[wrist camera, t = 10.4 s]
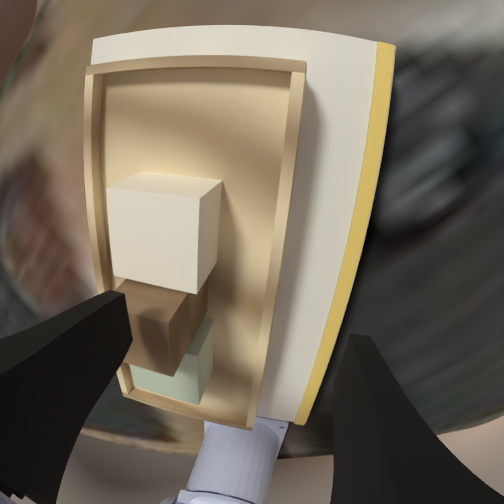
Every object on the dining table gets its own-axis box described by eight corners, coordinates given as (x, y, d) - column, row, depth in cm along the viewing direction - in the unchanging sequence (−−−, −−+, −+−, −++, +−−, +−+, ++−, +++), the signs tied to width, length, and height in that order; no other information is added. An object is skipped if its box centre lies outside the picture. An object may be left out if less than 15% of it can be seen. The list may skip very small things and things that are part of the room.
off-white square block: (217, 261, 15) (197, 294, 13) (143, 247, 16) (113, 275, 13) (222, 180, 14) (199, 198, 11) (141, 171, 14) (106, 187, 12)
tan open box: (258, 402, 22) (240, 480, 16) (138, 372, 24) (99, 436, 17) (307, 70, 13) (303, 35, 7) (117, 68, 14) (22, 63, 8)
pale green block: (213, 369, 19) (198, 405, 16) (154, 354, 19) (134, 386, 17) (214, 319, 17) (197, 356, 14) (148, 304, 18) (123, 336, 15)
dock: (307, 400, 25) (305, 425, 23) (133, 361, 27) (120, 381, 24) (384, 54, 14) (396, 45, 11) (116, 44, 16) (91, 38, 13)
